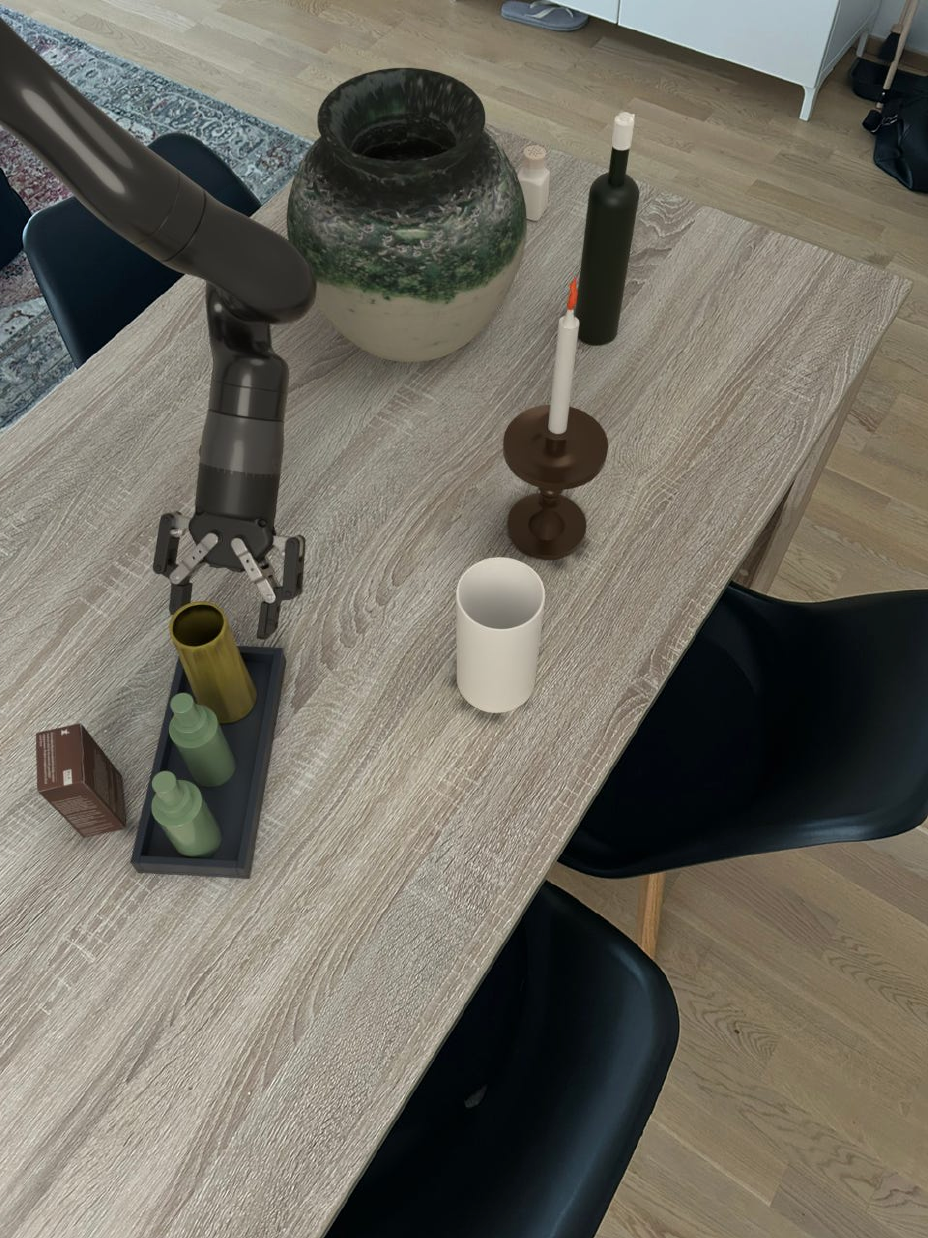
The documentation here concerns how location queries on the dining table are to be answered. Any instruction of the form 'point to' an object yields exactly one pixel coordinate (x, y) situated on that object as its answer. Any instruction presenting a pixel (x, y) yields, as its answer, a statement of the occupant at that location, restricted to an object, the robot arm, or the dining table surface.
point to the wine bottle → (607, 242)
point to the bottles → (208, 765)
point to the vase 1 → (212, 661)
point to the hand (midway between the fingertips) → (221, 629)
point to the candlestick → (554, 458)
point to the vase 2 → (407, 214)
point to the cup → (498, 633)
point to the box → (79, 780)
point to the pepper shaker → (534, 181)
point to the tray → (230, 801)
